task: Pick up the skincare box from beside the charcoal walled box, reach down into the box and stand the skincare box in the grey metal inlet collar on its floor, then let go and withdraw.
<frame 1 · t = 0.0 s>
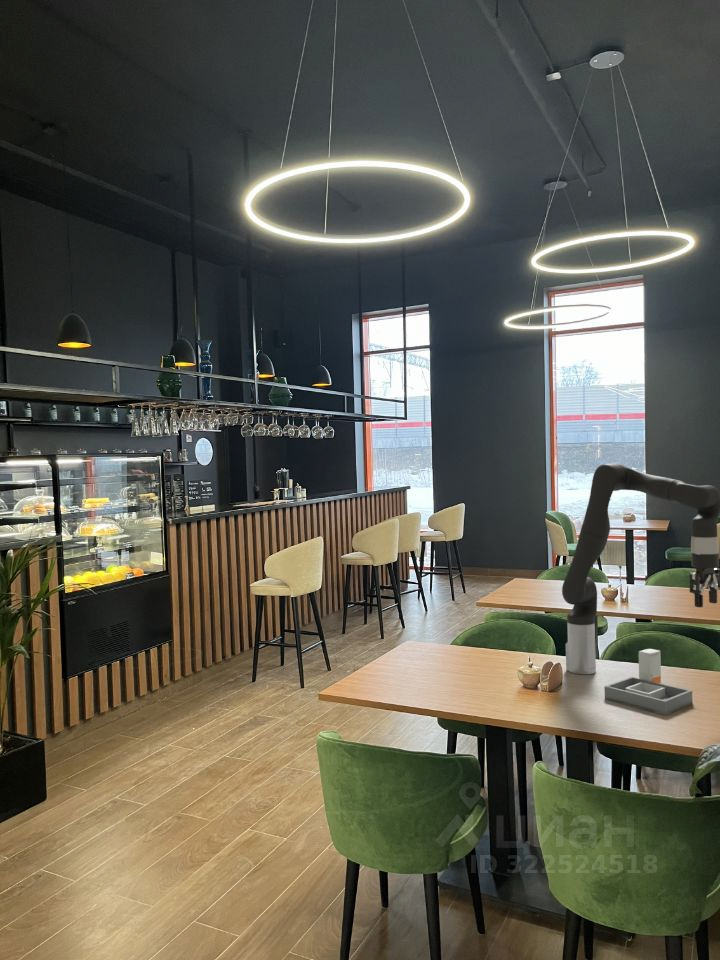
hand: (706, 605, 217), 29 cm above the table, fingers open, 8 cm apart
skincare box: (650, 688, 232), on the table
walled box: (647, 701, 219), on the table
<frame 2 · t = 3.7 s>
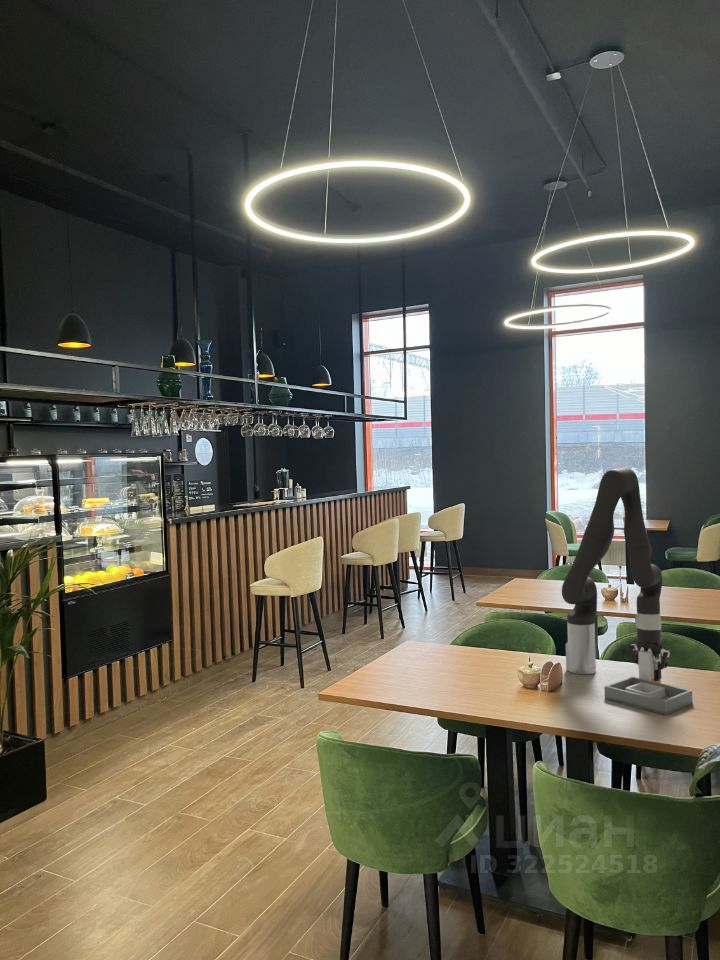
hand: (650, 678, 232), 3 cm above the table, fingers closed on skincare box, 4 cm apart
skincare box: (650, 688, 232), on the table, touching gripper
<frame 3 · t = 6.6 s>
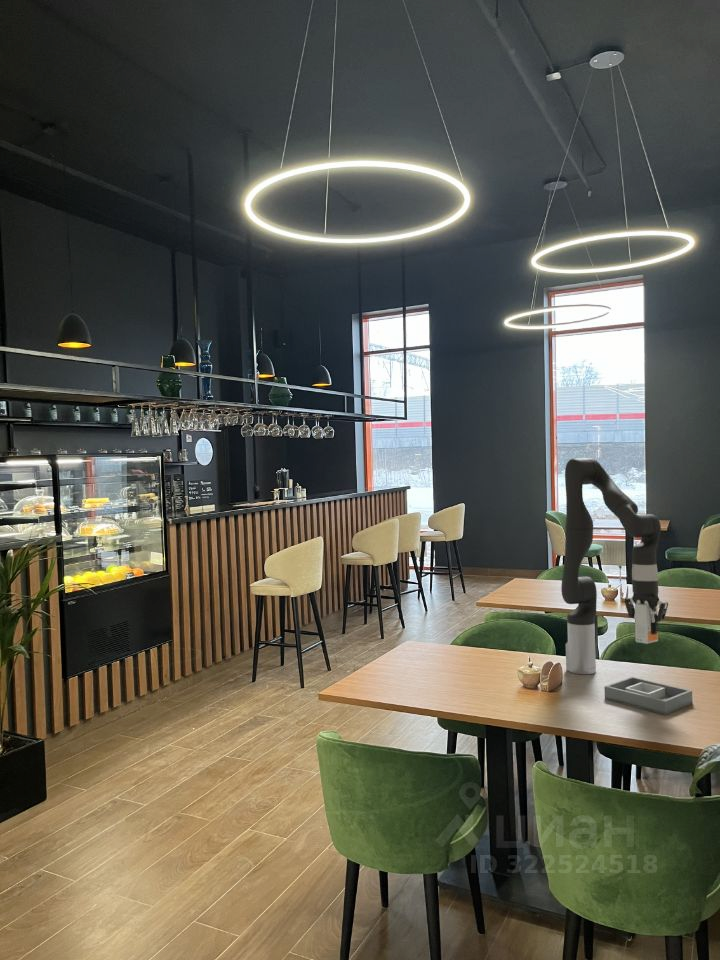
hand: (646, 632, 224), 20 cm above the table, fingers closed on skincare box, 4 cm apart
skincare box: (647, 642, 224), point 17 cm above the table, touching gripper
when the fingers open (5 cm above the table, at t = 9.8 s): skincare box drops 1 cm, resting on walled box.
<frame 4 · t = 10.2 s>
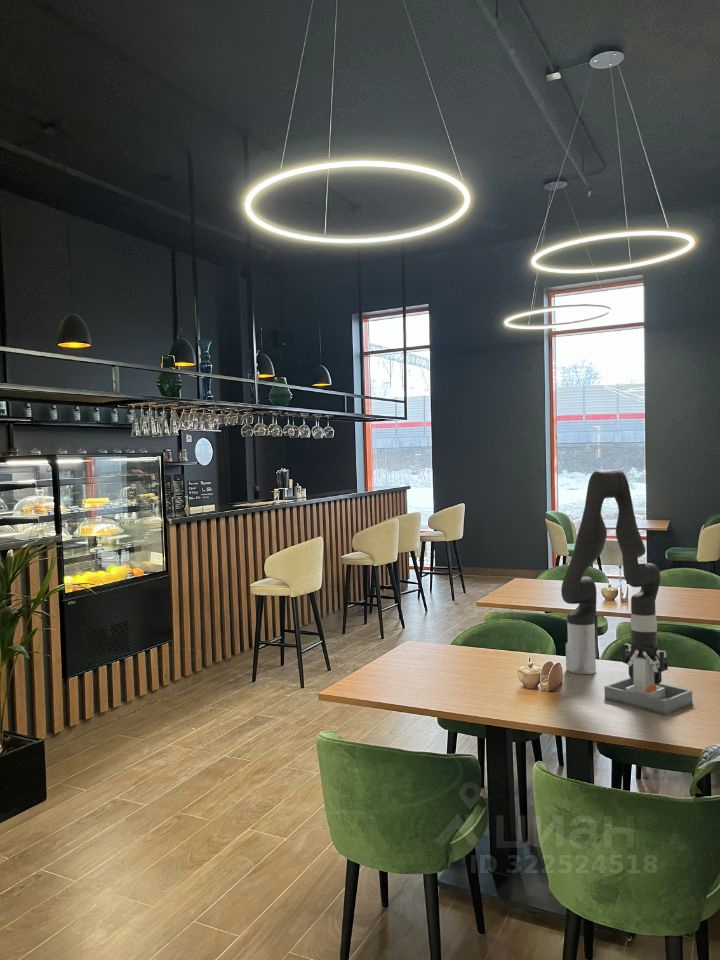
hand: (645, 680, 222), 5 cm above the table, fingers open, 7 cm apart
skincare box: (645, 696, 222), point 1 cm above the table, touching walled box
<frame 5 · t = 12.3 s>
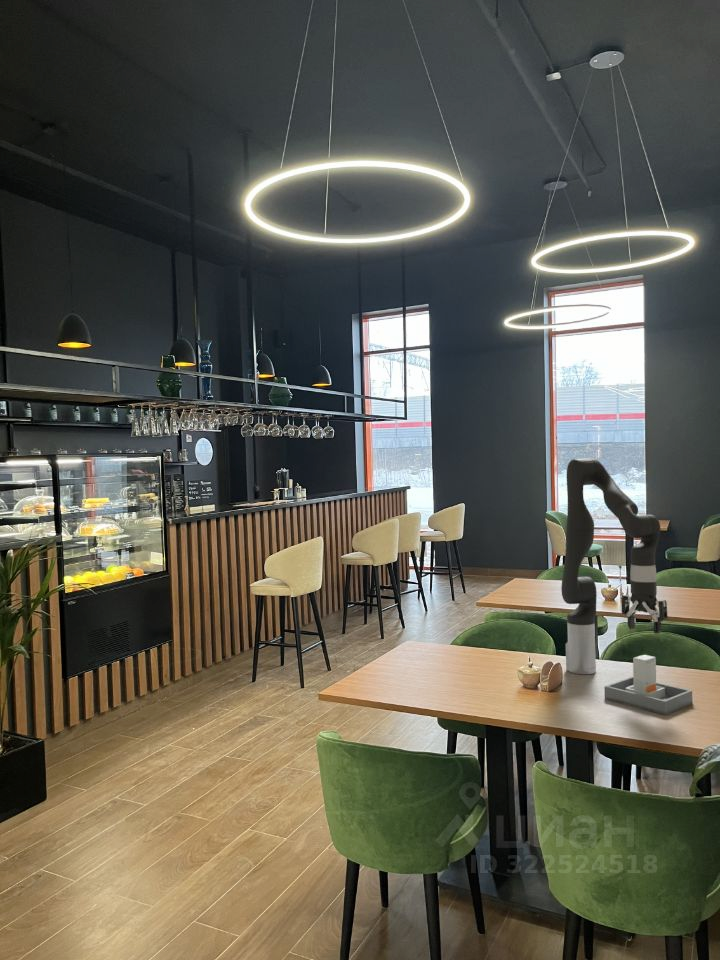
hand: (644, 630, 223), 21 cm above the table, fingers open, 8 cm apart
nothing on the table moved.
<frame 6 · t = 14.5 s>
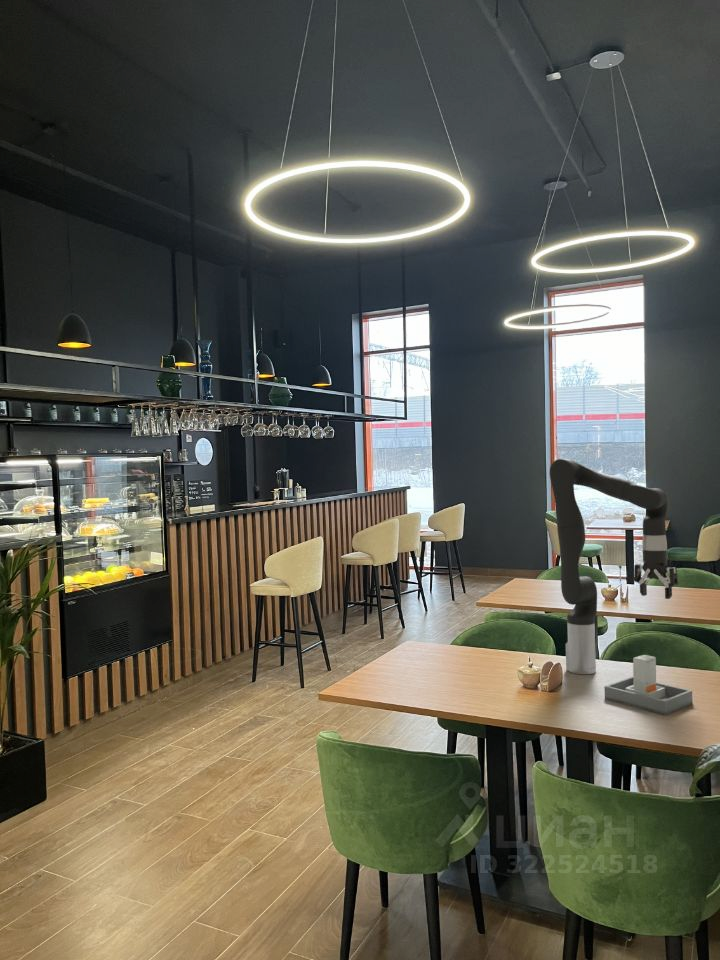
hand: (655, 597, 238), 28 cm above the table, fingers open, 8 cm apart
nothing on the table moved.
at the end: skincare box 0.1 cm from the target spot on the walled box, point 0.6 cm above the walled box's base; skincare box tilted 0°; the gripper is holding nothing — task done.
